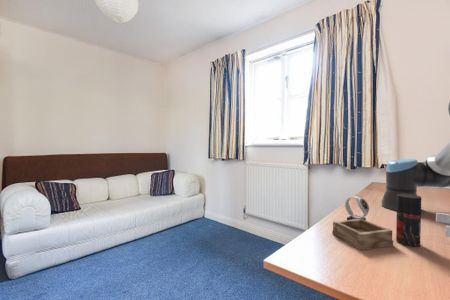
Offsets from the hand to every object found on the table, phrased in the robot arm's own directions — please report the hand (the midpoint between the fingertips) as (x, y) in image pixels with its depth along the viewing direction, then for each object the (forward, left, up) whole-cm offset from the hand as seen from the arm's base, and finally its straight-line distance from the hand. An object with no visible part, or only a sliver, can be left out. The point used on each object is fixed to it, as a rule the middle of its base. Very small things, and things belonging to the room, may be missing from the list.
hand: (440, 223), depth 67 cm
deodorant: (+4, -6, -8) cm, 11 cm away
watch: (+8, -22, -8) cm, 25 cm away
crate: (+16, -12, -8) cm, 22 cm away
